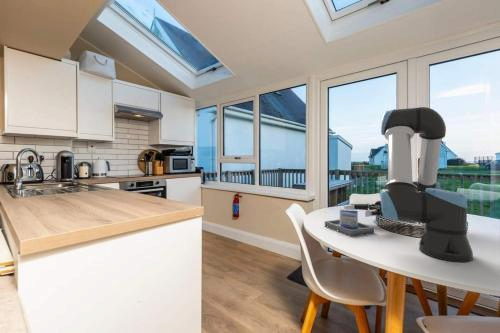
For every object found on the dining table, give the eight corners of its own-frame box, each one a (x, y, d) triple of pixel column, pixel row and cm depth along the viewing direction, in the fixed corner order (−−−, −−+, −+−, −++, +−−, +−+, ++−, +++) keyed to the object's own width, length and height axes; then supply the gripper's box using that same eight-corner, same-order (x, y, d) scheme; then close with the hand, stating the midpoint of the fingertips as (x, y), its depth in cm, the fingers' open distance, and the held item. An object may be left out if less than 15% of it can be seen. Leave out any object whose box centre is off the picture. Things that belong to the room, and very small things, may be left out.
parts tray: (374, 232, 112) (374, 227, 112) (351, 236, 107) (351, 230, 107) (345, 223, 129) (345, 218, 129) (324, 226, 124) (324, 221, 124)
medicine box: (340, 227, 117) (340, 210, 117) (339, 225, 121) (339, 208, 121) (357, 228, 115) (357, 211, 115) (356, 226, 119) (356, 209, 119)
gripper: (407, 219, 116) (376, 224, 108) (365, 209, 139) (336, 213, 131) (408, 204, 116) (376, 208, 108) (365, 197, 139) (336, 199, 131)
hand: (354, 210), depth 120 cm, fingers open, 13 cm apart
